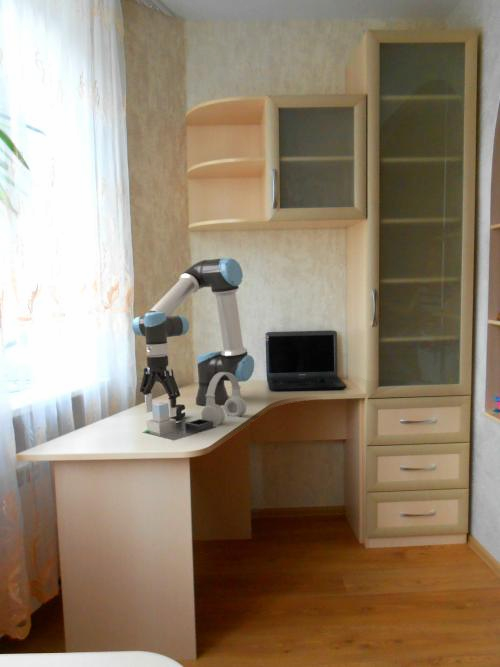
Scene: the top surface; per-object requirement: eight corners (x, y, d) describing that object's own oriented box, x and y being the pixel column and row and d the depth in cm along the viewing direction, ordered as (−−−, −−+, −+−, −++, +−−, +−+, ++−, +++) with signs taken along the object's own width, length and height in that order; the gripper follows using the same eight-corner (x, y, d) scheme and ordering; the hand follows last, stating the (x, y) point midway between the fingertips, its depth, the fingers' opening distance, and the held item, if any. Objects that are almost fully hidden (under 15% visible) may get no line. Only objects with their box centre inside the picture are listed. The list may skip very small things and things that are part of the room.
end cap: (155, 422, 203) (154, 406, 202) (165, 418, 209) (164, 402, 209) (177, 424, 199) (176, 407, 198) (186, 419, 205) (185, 403, 205)
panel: (184, 422, 200) (183, 410, 200) (216, 429, 188) (216, 416, 188) (142, 434, 185) (141, 421, 185) (174, 443, 173) (173, 428, 173)
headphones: (230, 415, 210) (228, 368, 209) (247, 416, 206) (245, 369, 204) (200, 427, 193) (198, 376, 192) (219, 429, 189) (216, 377, 187)
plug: (162, 429, 188) (161, 402, 188) (169, 430, 186) (168, 403, 185) (153, 431, 185) (152, 404, 185) (160, 433, 183) (159, 405, 182)
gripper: (128, 355, 189) (131, 411, 191) (171, 358, 172) (174, 421, 174) (144, 352, 195) (148, 407, 196) (188, 356, 178) (191, 416, 180)
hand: (160, 414), depth 185 cm, fingers open, 13 cm apart
